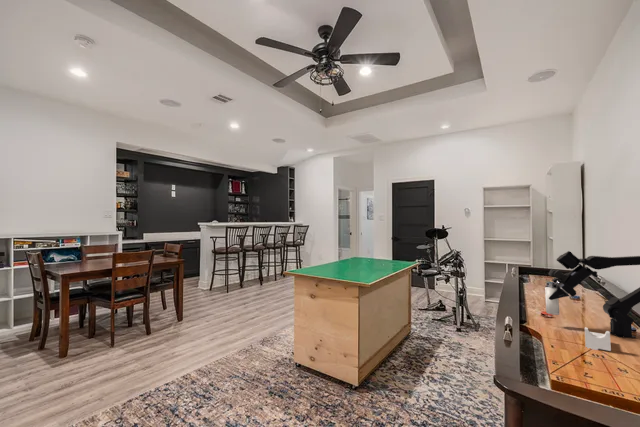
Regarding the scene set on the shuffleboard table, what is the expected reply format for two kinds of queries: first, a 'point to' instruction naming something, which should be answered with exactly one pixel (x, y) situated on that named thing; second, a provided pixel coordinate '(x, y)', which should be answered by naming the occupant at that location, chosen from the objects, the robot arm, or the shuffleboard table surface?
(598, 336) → the bracket
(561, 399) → the shuffleboard table surface
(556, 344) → the shuffleboard table surface
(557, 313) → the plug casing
